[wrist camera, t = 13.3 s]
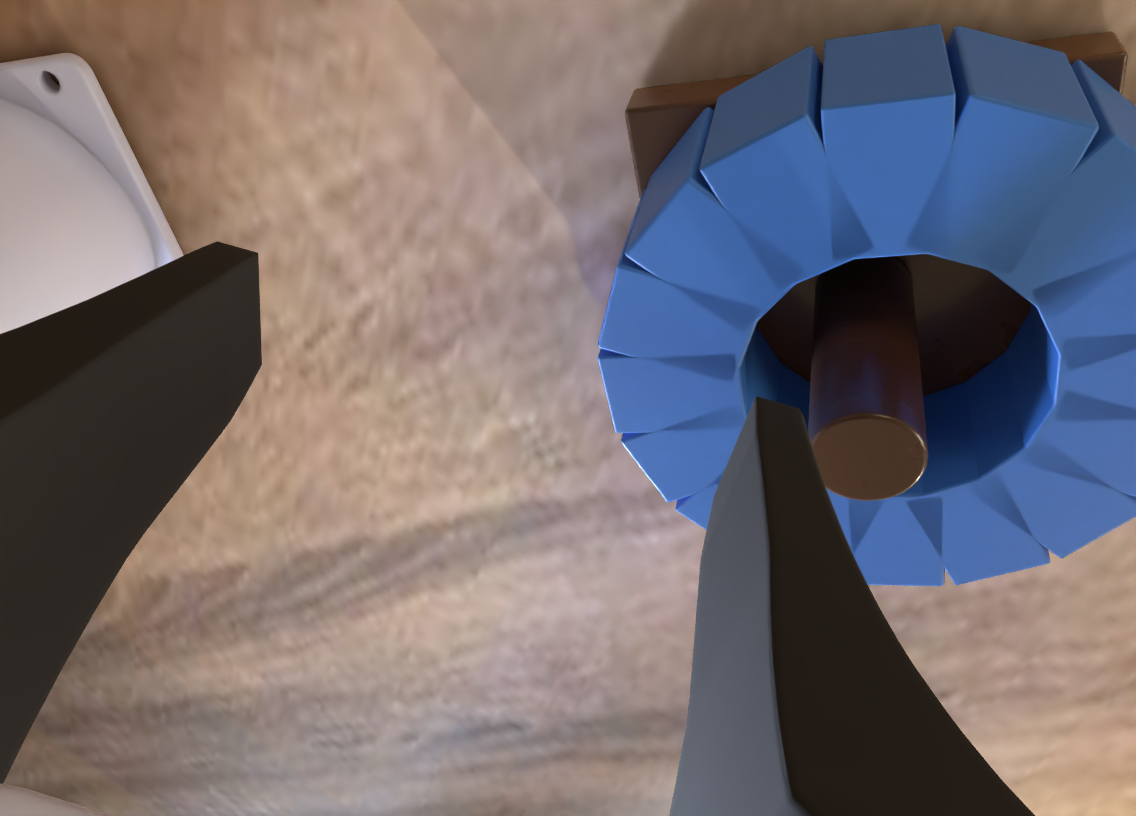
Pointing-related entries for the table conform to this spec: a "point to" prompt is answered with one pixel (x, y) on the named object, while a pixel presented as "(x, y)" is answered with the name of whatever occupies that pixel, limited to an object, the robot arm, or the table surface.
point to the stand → (871, 312)
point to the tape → (894, 228)
